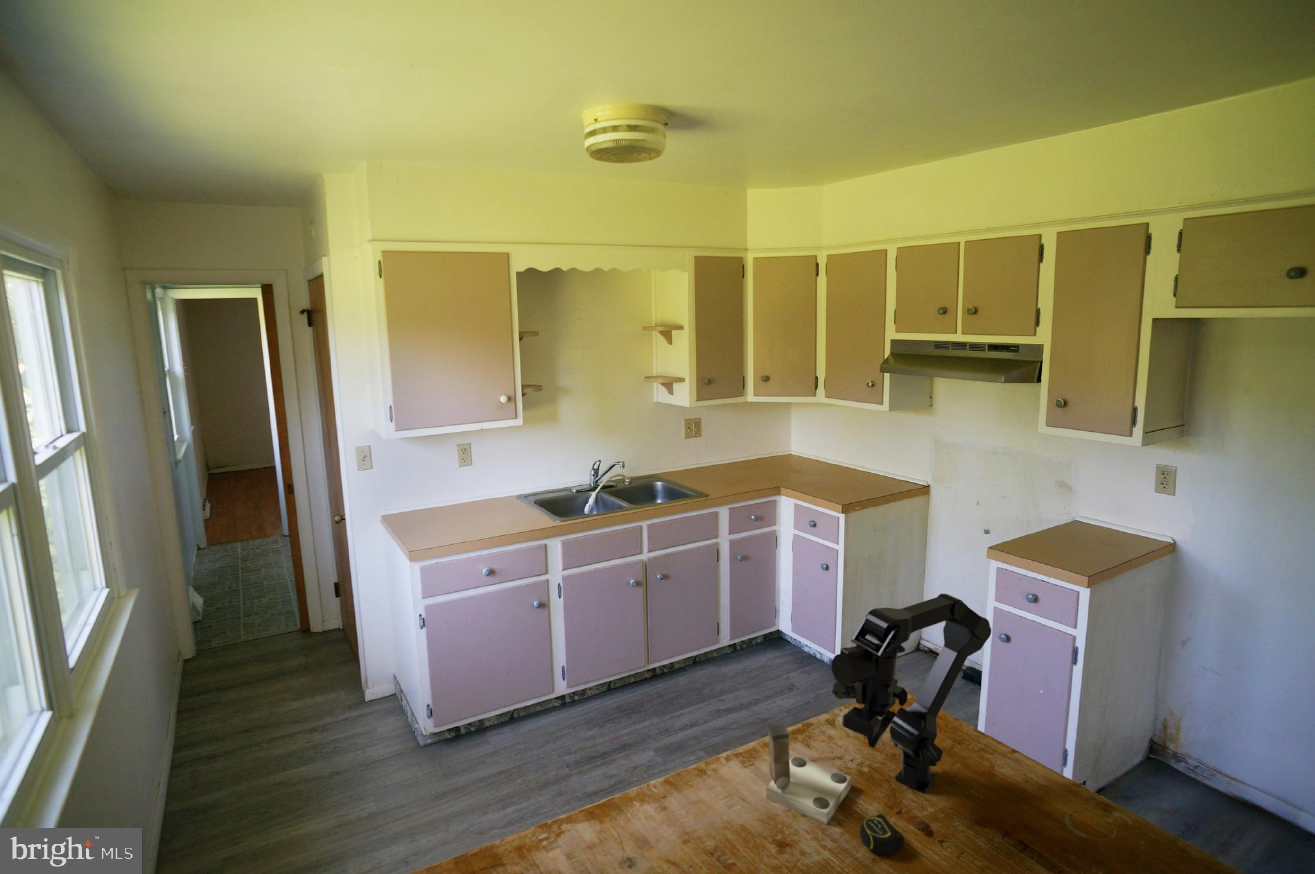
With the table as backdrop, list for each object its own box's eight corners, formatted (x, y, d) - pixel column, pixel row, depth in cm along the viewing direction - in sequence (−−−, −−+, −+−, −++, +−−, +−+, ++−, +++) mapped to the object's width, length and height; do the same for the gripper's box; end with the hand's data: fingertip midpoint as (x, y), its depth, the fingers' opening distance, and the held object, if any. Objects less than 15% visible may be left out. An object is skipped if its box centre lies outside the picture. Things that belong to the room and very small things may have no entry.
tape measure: (905, 853, 129) (906, 835, 128) (873, 862, 127) (874, 844, 126) (882, 827, 135) (883, 810, 134) (852, 835, 133) (853, 818, 132)
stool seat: (793, 764, 154) (794, 753, 153) (850, 787, 146) (851, 776, 146) (766, 798, 143) (766, 786, 143) (826, 824, 136) (826, 812, 135)
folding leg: (785, 777, 145) (783, 723, 143) (791, 788, 142) (788, 733, 139) (769, 779, 145) (767, 726, 142) (774, 790, 141) (772, 736, 139)
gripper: (860, 646, 150) (853, 713, 152) (820, 676, 136) (814, 750, 138) (911, 663, 143) (904, 733, 145) (875, 697, 129) (868, 774, 131)
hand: (872, 746), depth 140 cm, fingers closed
